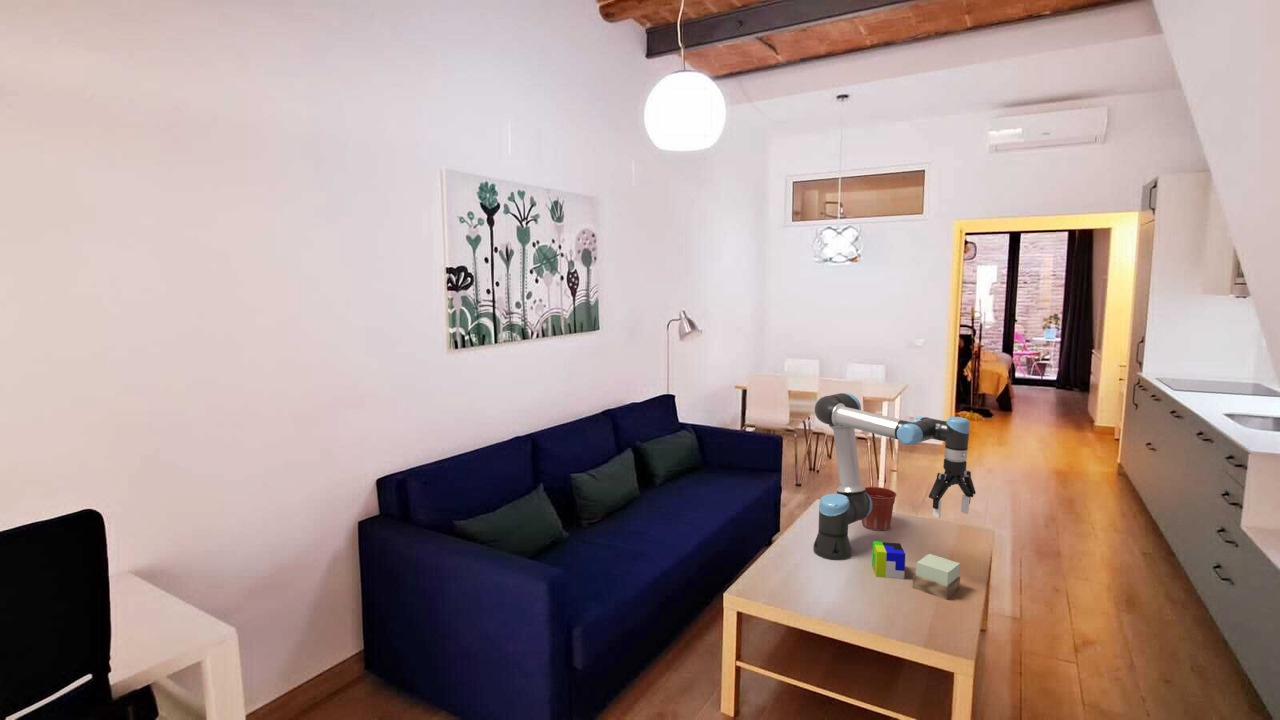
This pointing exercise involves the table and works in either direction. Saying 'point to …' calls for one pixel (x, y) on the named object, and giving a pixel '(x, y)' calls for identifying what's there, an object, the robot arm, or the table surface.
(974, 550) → the table surface
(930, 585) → the bottom slab
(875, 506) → the flower pot
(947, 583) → the top slab
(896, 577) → the puzzle toy
